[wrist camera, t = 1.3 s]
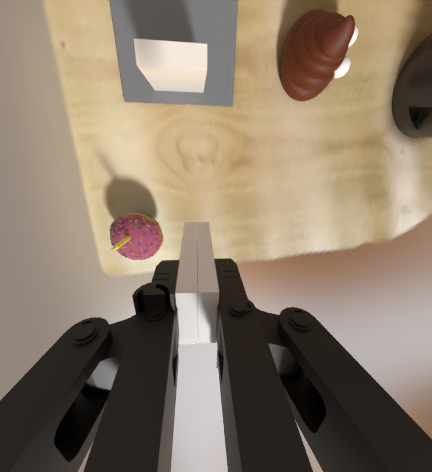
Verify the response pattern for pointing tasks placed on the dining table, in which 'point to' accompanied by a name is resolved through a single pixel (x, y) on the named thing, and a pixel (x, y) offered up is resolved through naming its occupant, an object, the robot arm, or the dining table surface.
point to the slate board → (179, 30)
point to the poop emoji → (316, 52)
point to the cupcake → (136, 236)
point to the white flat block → (172, 64)
